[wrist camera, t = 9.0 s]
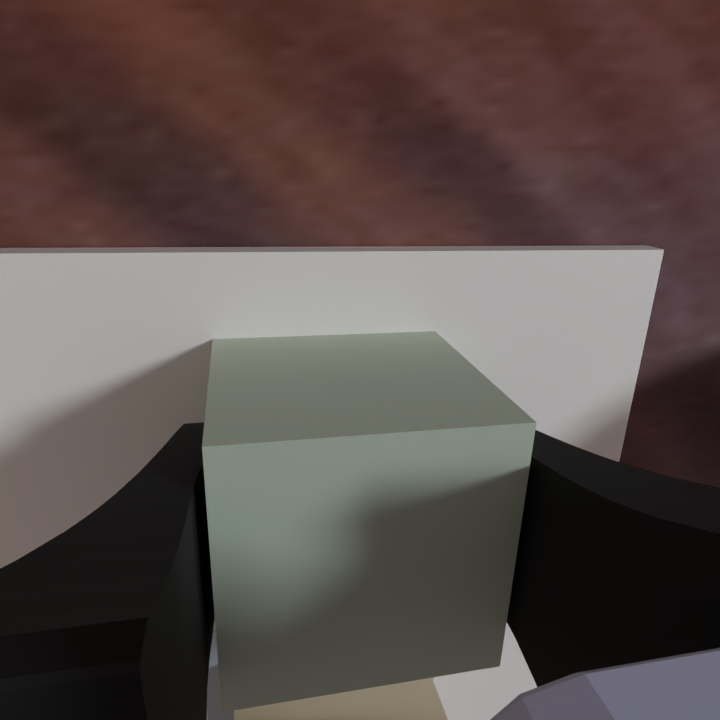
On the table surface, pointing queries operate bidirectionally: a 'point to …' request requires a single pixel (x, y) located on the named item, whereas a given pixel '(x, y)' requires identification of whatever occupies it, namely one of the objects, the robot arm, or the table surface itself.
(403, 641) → the sage block
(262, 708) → the maple block
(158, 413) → the blueprint baseplate
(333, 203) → the table surface
